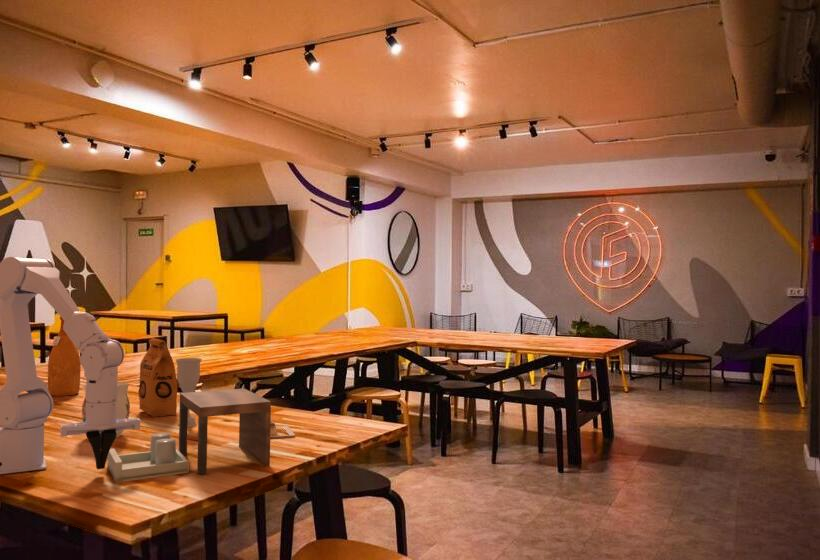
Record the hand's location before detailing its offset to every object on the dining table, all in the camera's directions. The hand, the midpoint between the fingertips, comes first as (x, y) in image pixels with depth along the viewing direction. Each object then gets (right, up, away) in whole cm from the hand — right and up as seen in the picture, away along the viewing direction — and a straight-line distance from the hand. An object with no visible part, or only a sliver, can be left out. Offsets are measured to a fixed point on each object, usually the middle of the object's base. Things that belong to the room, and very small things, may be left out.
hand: (100, 467), depth 131 cm
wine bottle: (-55, -1, +89) cm, 105 cm away
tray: (+8, -2, +5) cm, 9 cm away
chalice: (+2, -2, +46) cm, 46 cm away
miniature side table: (+21, -2, +13) cm, 25 cm away
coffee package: (-12, -2, +61) cm, 63 cm away
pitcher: (-15, -2, +33) cm, 36 cm away
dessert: (+26, -3, +39) cm, 46 cm away
